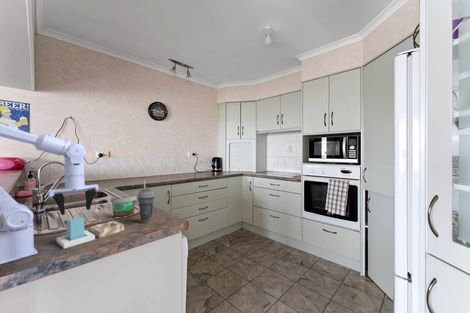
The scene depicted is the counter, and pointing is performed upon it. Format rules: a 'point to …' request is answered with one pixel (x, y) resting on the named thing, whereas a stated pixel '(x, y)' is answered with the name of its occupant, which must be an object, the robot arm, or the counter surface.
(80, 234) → the teal plug
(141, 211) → the beverage cup
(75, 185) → the robot arm
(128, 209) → the food container
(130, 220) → the counter surface
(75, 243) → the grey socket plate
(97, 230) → the ash socket block
